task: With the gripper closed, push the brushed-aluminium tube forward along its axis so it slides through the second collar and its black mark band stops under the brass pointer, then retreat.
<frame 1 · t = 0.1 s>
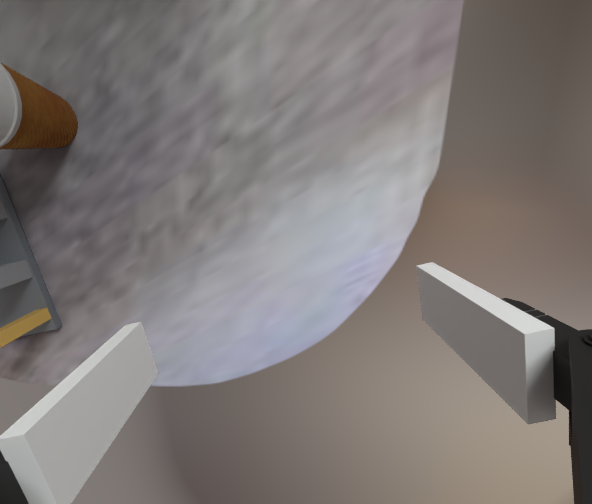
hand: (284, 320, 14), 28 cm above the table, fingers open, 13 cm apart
disposable coffee cup: (52, 121, 38), on the table
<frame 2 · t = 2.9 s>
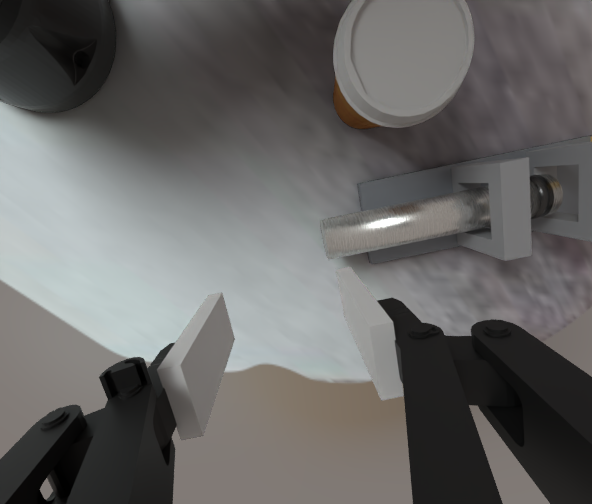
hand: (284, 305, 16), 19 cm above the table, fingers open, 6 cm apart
collar bench: (486, 198, 34), on the table
disposable coffee cup: (363, 97, 32), on the table
aluminium tube: (434, 217, 30), point 4 cm above the table, slide at 0.0 cm
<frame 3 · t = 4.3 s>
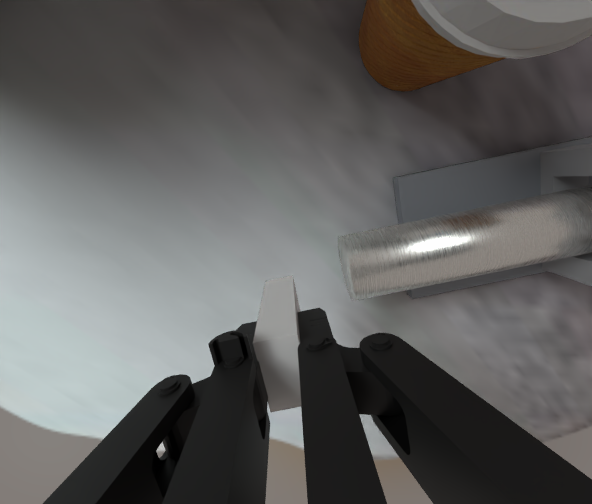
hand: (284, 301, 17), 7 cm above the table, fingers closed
collar bench: (585, 200, 23), on the table
disposable coffee cup: (405, 40, 20), on the table
aluminium tube: (523, 232, 19), point 4 cm above the table, slide at 0.0 cm
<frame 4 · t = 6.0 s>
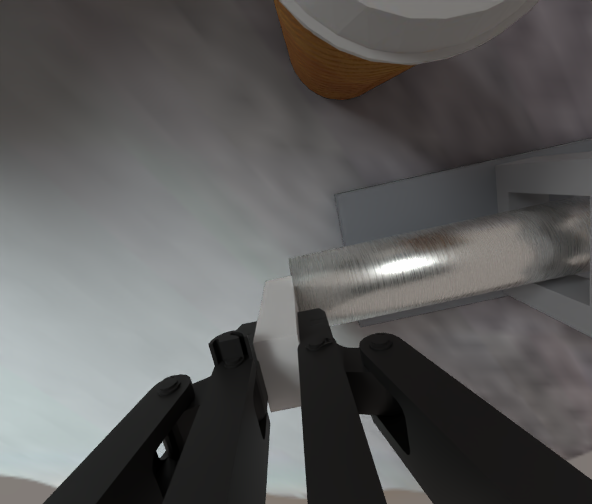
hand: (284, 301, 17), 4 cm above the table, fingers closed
collar bench: (551, 216, 21), on the table
disposable coffee cup: (340, 43, 18), on the table
aluminium tube: (497, 251, 16), point 4 cm above the table, slide at 1.4 cm, touching gripper
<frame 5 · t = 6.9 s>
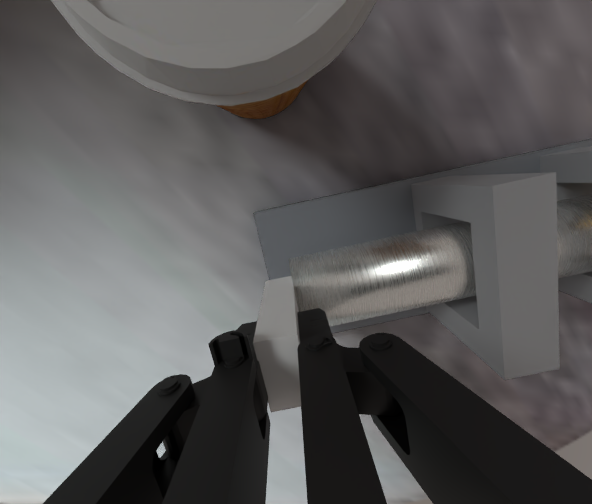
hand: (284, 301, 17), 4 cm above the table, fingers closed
collar bench: (473, 233, 21), on the table
disposable coffee cup: (253, 62, 18), on the table
aluminium tube: (496, 251, 17), point 4 cm above the table, slide at 6.7 cm, touching gripper
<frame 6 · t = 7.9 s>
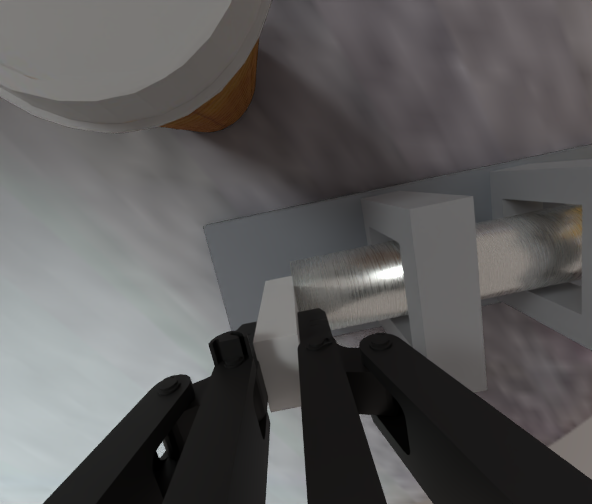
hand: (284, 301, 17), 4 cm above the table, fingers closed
collar bench: (427, 247, 21), on the table
disposable coffee cup: (202, 76, 18), on the table
aluminium tube: (498, 256, 16), point 4 cm above the table, slide at 9.9 cm, touching gripper
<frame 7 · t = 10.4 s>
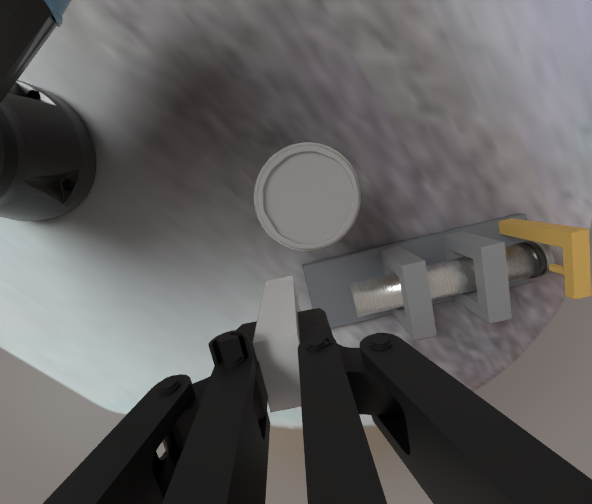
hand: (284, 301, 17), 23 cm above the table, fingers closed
collar bench: (415, 272, 40), on the table
disposable coffee cup: (302, 195, 38), on the table
aluminium tube: (446, 278, 36), point 4 cm above the table, slide at 9.9 cm
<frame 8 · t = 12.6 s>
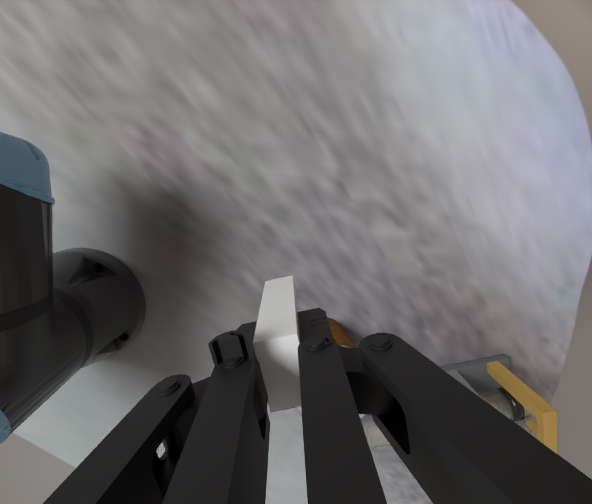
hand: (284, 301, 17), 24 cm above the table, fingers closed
collar bench: (414, 398, 47), on the table
disposable coffee cup: (321, 336, 44), on the table
aluminium tube: (441, 417, 42), point 4 cm above the table, slide at 9.9 cm
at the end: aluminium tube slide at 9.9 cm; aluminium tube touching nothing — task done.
